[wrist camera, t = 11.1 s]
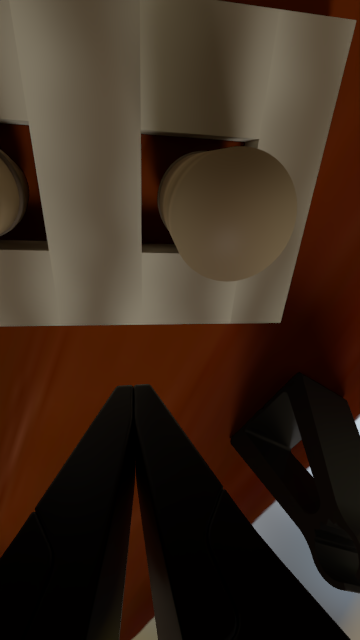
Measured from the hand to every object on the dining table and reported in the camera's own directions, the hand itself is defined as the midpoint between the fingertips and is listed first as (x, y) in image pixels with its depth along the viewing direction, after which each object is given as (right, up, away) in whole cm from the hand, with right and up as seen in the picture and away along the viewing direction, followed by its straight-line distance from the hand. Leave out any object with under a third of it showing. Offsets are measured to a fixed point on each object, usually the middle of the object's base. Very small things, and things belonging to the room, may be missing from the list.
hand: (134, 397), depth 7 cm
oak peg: (+2, +9, +9) cm, 12 cm away
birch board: (-3, +9, +8) cm, 12 cm away
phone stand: (+11, -7, +19) cm, 22 cm away
